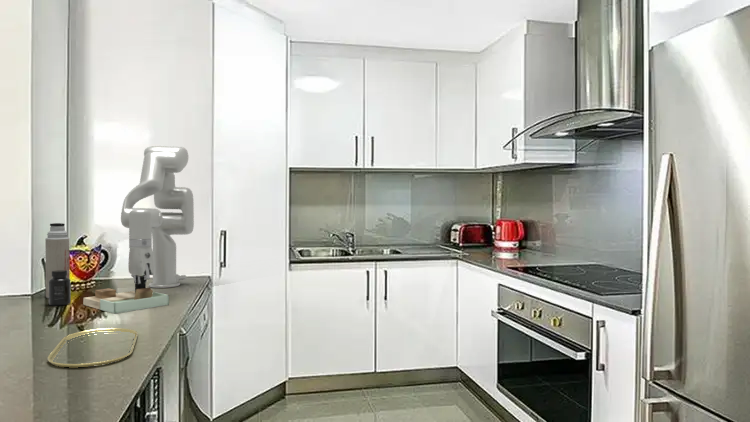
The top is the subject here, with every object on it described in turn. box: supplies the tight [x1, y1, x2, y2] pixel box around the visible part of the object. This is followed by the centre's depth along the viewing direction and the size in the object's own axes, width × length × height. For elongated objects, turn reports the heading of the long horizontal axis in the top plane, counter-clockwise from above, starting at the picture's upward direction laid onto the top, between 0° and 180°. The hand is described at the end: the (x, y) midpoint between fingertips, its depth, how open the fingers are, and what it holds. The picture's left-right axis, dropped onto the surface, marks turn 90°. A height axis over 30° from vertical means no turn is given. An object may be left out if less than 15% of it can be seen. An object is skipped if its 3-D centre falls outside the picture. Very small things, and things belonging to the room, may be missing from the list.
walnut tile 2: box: [94, 288, 117, 299], centre depth 202 cm, size 5×5×2 cm
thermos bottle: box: [45, 222, 71, 299], centre depth 215 cm, size 8×8×28 cm
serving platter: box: [47, 327, 139, 369], centre depth 146 cm, size 19×35×2 cm, turn 19°
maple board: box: [82, 290, 153, 310], centre depth 204 cm, size 20×12×2 cm, turn 142°
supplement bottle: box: [48, 270, 72, 307], centre depth 200 cm, size 7×7×12 cm
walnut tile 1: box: [134, 287, 154, 300], centre depth 201 cm, size 5×5×2 cm
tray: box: [99, 291, 170, 314], centre depth 198 cm, size 20×10×4 cm, turn 142°
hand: (140, 294), depth 203 cm, fingers closed
